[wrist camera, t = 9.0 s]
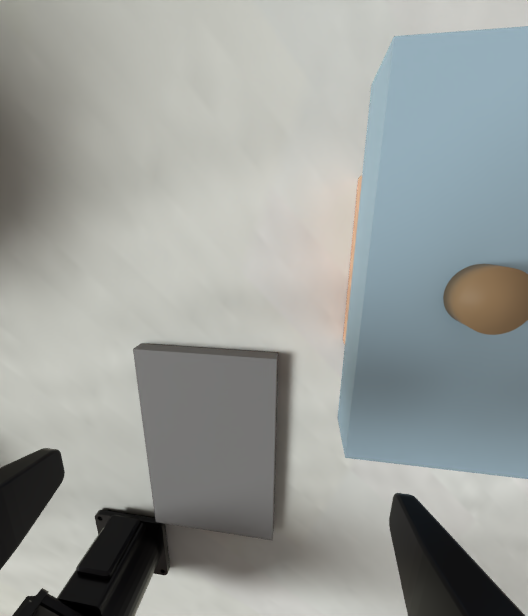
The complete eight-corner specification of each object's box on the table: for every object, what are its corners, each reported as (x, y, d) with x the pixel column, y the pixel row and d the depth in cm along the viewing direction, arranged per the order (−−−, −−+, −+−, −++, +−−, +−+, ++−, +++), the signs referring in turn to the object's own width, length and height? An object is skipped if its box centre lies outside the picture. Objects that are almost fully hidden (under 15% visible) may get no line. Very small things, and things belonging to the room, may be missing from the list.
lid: (491, 433, 13) (560, 505, 9) (337, 417, 13) (349, 479, 10) (595, 72, 9) (775, -26, 5) (371, 85, 10) (408, 6, 6)
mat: (273, 527, 23) (272, 540, 22) (161, 510, 24) (155, 522, 23) (277, 352, 18) (276, 359, 17) (141, 343, 20) (133, 349, 19)
